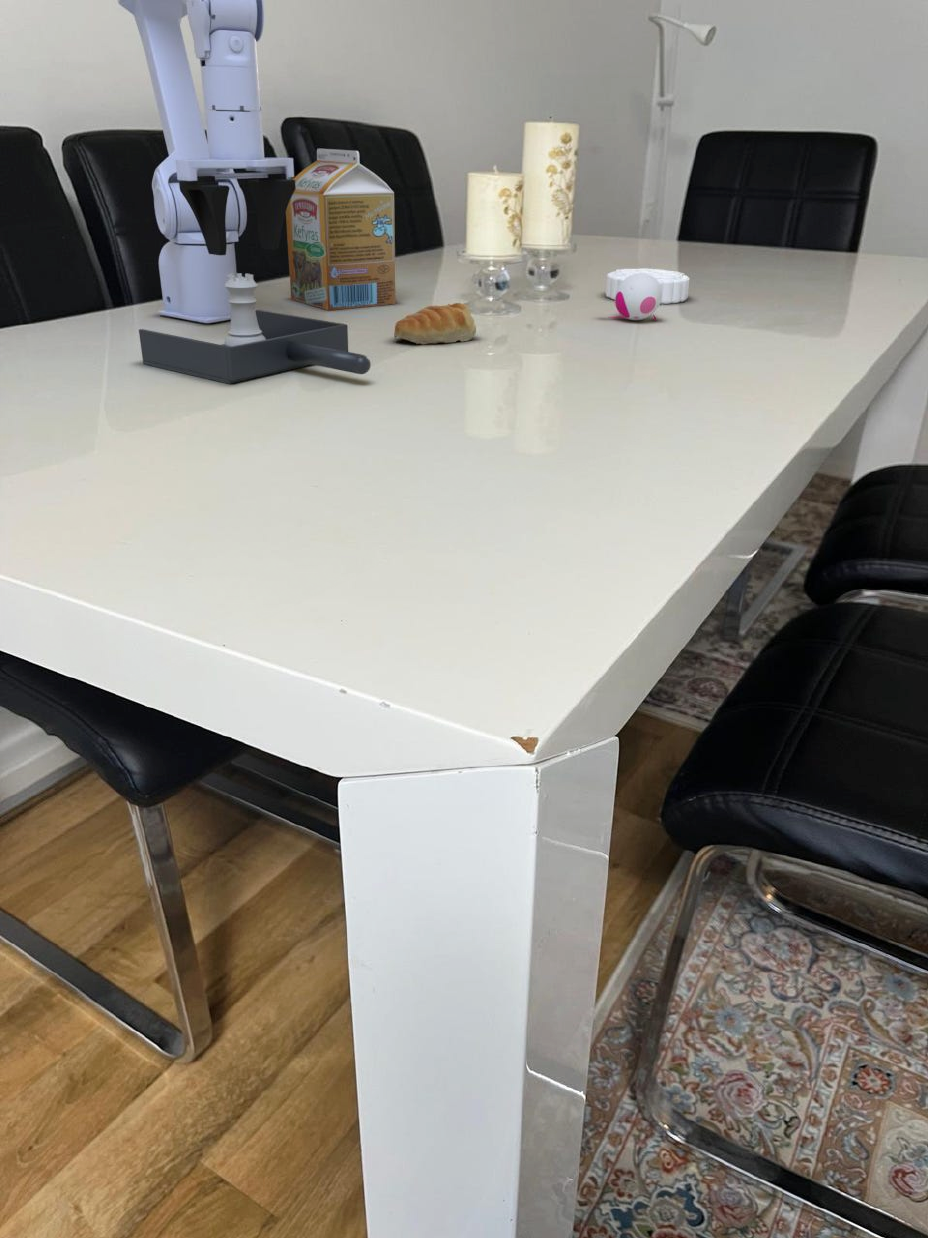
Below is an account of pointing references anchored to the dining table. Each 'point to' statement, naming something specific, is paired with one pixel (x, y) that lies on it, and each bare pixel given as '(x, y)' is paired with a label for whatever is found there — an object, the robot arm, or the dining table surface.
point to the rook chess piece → (242, 311)
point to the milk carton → (341, 234)
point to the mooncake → (670, 281)
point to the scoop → (257, 350)
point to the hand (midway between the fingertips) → (244, 251)
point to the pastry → (437, 325)
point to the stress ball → (638, 297)
